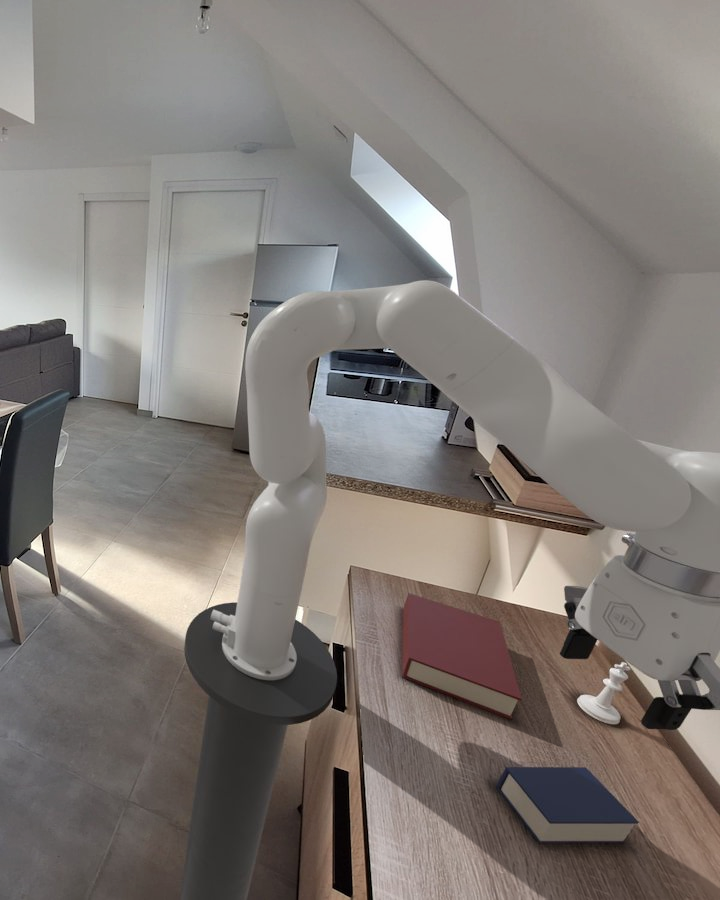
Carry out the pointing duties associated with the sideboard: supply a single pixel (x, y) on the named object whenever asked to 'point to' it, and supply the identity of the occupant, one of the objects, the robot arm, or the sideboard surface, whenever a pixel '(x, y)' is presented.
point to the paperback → (565, 805)
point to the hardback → (458, 655)
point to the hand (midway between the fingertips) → (611, 689)
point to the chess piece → (605, 697)
